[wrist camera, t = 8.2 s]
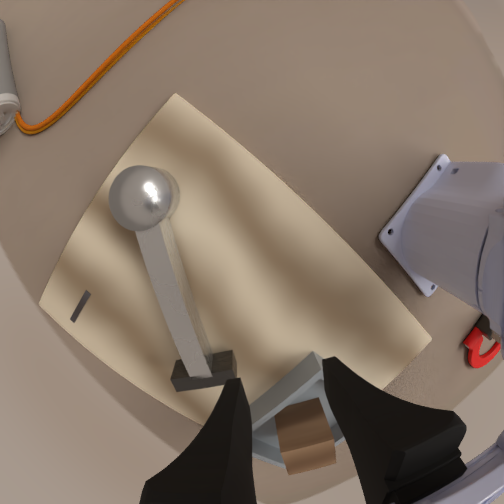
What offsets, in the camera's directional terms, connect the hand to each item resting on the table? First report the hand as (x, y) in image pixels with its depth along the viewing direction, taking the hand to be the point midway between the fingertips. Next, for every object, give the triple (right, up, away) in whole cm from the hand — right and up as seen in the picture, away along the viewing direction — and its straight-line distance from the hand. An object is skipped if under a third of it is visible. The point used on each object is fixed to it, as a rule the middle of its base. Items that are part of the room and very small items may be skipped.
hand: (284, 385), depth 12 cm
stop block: (+3, -9, +10) cm, 14 cm away
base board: (-2, 0, +9) cm, 9 cm away
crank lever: (-6, +4, +7) cm, 10 cm away
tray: (+3, -8, +11) cm, 14 cm away
